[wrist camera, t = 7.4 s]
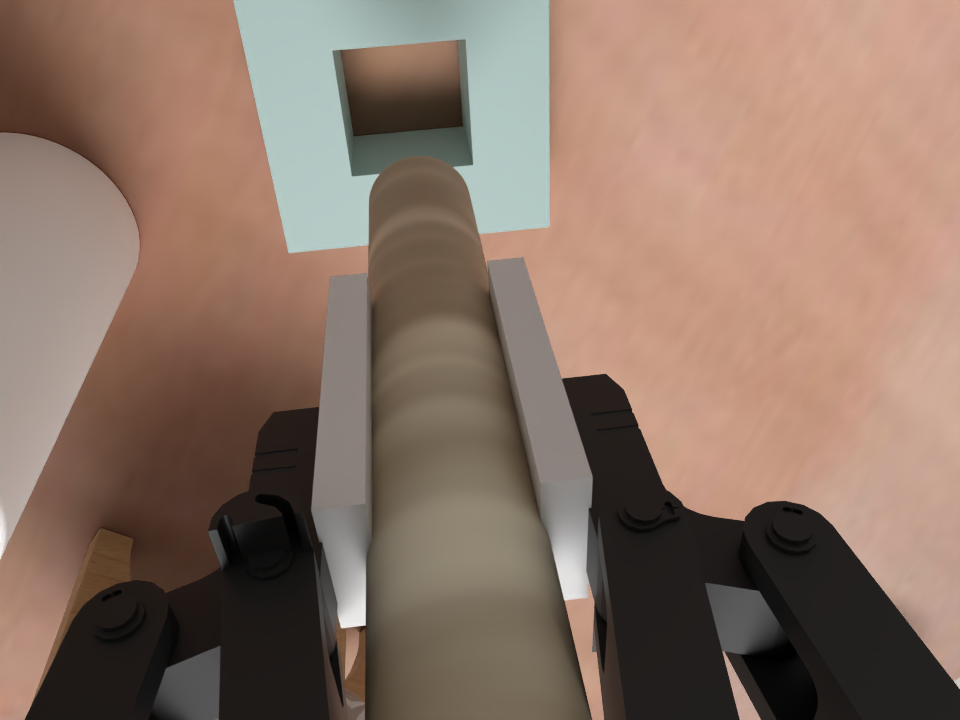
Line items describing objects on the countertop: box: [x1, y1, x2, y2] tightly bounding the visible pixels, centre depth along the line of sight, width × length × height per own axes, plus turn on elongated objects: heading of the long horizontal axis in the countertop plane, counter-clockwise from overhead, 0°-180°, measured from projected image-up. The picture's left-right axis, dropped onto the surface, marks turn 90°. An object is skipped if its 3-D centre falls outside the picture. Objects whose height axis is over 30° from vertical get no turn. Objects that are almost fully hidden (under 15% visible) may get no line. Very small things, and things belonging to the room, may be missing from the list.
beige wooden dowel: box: [365, 156, 592, 720], centre depth 16 cm, size 3×3×16 cm
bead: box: [233, 0, 550, 253], centre depth 30 cm, size 10×10×4 cm
